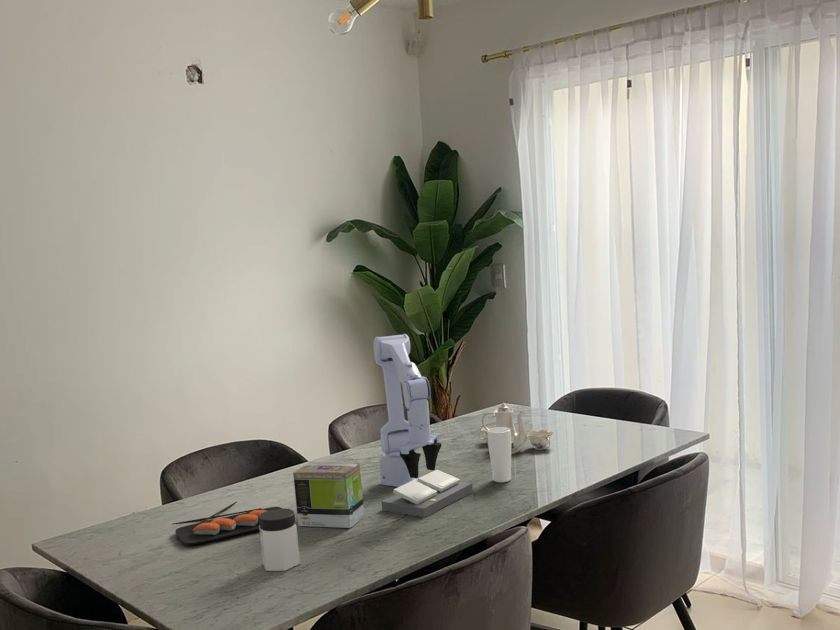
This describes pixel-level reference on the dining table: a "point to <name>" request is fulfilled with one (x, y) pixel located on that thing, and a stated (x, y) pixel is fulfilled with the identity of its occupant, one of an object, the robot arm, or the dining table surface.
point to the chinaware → (517, 440)
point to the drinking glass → (500, 453)
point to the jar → (278, 539)
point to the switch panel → (427, 501)
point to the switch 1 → (415, 492)
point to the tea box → (329, 495)
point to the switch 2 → (438, 480)
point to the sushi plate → (220, 526)
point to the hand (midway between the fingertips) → (422, 473)
